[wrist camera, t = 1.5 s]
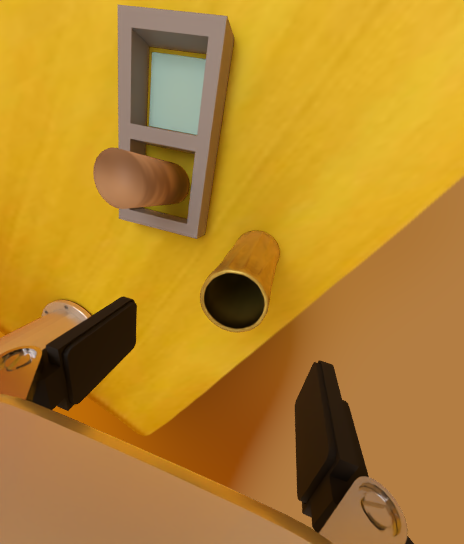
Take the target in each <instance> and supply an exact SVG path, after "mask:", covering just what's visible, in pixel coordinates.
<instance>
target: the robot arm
mask: <svg viewBox="0 0 464 544" xmlns="http://www.w3.org/2000/svg"><path fill="white" fill-rule="evenodd" d="M136 311H137V305H136V303H135V301H134V300H133V299H130V298H126V297H121V298H119V299H117V300H116V301H114V302H113V303H111V304H110V305H108V306H106V307H105V308H103V309H102V310H100V311H99V312H97V313H95V314H94V315H92V316H91V315H90V314H89V313H88V312H87V311H86V310H85V309H83V308H82V307H81V306H79V305H77V304H76V303H73V302H71V301H67V300H57V301H54V302H52V303H50V304H48V305H47V306H46V307H45V308H44V310H43V313H42V317H41V318H39V319H37V320H35V321H33V322H31V323H29V324H27V325H25V326H23V327H21V328H19V329H17V330H15V331H13V332H11V333H9V334H7V335H5V336H3V337H2V338H0V544H414V543H413V542H412V541H411V540H410V538H409V537H408V536H407V534H408V529H407V523H406V519H405V517H404V515H403V512H402V510H401V508H400V506H399V505H398V503H397V501H396V500H395V498H394V497H393V496H392V495H391V494H390V493H389V491H388V490H387V489H386V488H384V487H383V486H382V485H381V484H380V483H379V482H377V481H376V480H374V479H372V478H369V476H368V473H367V469H366V466H365V462H364V458H363V455H362V451H361V448H360V444H359V441H358V437H357V434H356V430H355V426H354V423H353V419H352V415H351V412H350V408H349V406H348V403H347V402H346V401H344V400H342V398H341V394H340V390H339V386H338V383H337V378H336V374H335V370H334V367H333V365H332V364H329V363H326V362H323V361H318V363H316V362H314V364H313V365H312V367H311V370H310V372H309V374H308V376H307V378H306V380H305V383H304V385H303V387H302V389H301V391H300V393H299V395H298V398H297V400H296V404H295V428H296V429H295V432H296V466H297V496H298V499H299V500H300V501H302V513H303V514H305V515H307V516H310V517H312V527H313V528H314V530H315V531H314V530H313V529H311V528H310V527H308V526H306V525H304V524H303V523H301V522H299V521H297V520H295V519H293V518H291V517H290V516H288V515H286V514H283V513H282V512H279V511H277V510H275V509H273V508H271V507H269V506H267V505H264V504H263V503H260V502H258V501H256V500H254V499H251V498H250V497H248V496H246V495H243V494H241V493H239V492H237V491H235V490H232V489H230V488H228V487H226V486H223V485H221V484H219V483H217V482H215V481H212V480H210V479H208V478H205V477H203V476H201V475H199V474H197V473H194V472H192V471H190V470H188V469H185V468H183V467H181V466H179V465H177V464H174V463H172V462H170V461H168V460H165V459H163V458H161V457H158V456H156V455H154V454H152V453H149V452H147V451H145V450H143V449H140V448H138V447H136V446H133V445H131V444H129V443H127V442H124V441H122V440H120V439H117V438H115V437H113V436H111V435H108V434H106V433H104V432H101V431H99V430H97V429H95V428H92V427H90V426H88V425H85V424H83V423H81V422H79V421H76V420H74V419H72V418H69V417H67V416H65V415H62V414H60V413H57V412H55V411H52V409H54V408H55V407H56V406H58V407H60V408H62V409H65V410H67V411H68V410H69V409H70V408H71V407H72V406H73V405H74V404H78V403H80V402H81V401H82V400H83V399H84V398H85V397H86V396H87V395H88V394H89V393H90V392H91V391H92V390H93V389H94V388H95V387H96V386H97V385H98V384H99V383H100V382H101V381H102V380H103V379H104V378H105V377H106V376H107V375H108V374H109V373H110V372H111V371H112V370H113V369H114V368H115V367H116V365H117V364H118V363H119V362H120V361H121V360H122V359H123V358H124V357H125V356H126V355H127V354H128V353H129V352H130V351H131V350H132V349H133V348H134V346H135V344H136Z"/></svg>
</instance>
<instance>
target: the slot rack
mask: <svg viewBox="0 0 464 544" xmlns="http://www.w3.org/2000/svg"><path fill="white" fill-rule="evenodd" d="M233 44H234V36H233V33H232V30H231V27H230V23H229V20H228V17H227V16H221V15H212V14H202V13H192V12H182V11H173V10H163V9H153V8H144V7H134V6H124V5H118V116H119V149H122V150H126V151H130V152H134V153H137V154H141V155H145V151H146V144H148V145H153V146H158V147H163V148H168V149H173V150H178V151H183V152H188V153H193V154H195V159H194V167H193V176H192V185H191V193H190V202H189V211H188V219H185V218H181V217H177V216H173V215H169V214H165V213H161V212H157V211H153V210H149V209H145V208H143V207H138V208H128V209H120V208H119V219H123V220H127V221H130V222H134V223H138V224H142V225H146V226H150V227H153V228H157V229H161V230H165V231H169V232H173V233H177V234H180V235H184V236H188V237H192V238H196V239H197V238H199V237H201V236H203V235H205V230H206V224H207V217H208V210H209V204H210V197H211V190H212V184H213V177H214V170H215V164H216V157H217V151H218V144H219V137H220V131H221V124H222V117H223V111H224V104H225V97H226V91H227V84H228V77H229V71H230V64H231V57H232V51H233ZM149 47H156V48H164V49H171V50H179V51H187V52H194V53H202V54H207V55H206V59H201V58H194V57H186V56H179V55H171V54H164V53H156V52H152V67H151V92H150V117H149V126H150V127H147V126H146V123H147V96H148V68H149ZM153 127H156V128H153ZM158 128H161V129H158ZM163 129H166V130H163ZM169 130H172V131H169ZM174 131H177V132H174ZM179 132H182V133H179ZM185 133H188V134H185ZM190 134H193V135H190ZM195 135H197V136H195Z"/></svg>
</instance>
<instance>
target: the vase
mask: <svg viewBox="0 0 464 544" xmlns="http://www.w3.org/2000/svg"><path fill="white" fill-rule="evenodd" d="M279 255H280V251H279V247H278V244H277V242H276V241H275V239H274V238H273V237H272V236H270V235H269V234H267V233H265V232H263V231H250V232H247V233H245V234H243V235H242V236H241V237H240V238H239V239H238V240H237V242H236V244H235V245H234V247H233V248H232V249H231V250H230V251H229V253H228V254H227V255H226V257H225V258H224V260H223V262H222V263H221V264H220V265H219V266H218V267H217V268H216V269H215V270H214V271H213V272H212V273H211V274H210V275H209V276H208V278H207V279H206V281H205V283H204V284H203V286H202V289H201V293H200V302H201V307H202V309H203V311H204V313H205V314H206V316H207V317H208V318H209V320H210V321H211V322H213V323H214V324H215V325H217V326H218V327H220V328H222V329H224V330H227V331H231V332H244V331H249V330H252V329H253V328H255V327H257V326H258V325H259V324H260V323H261V321H262V320H263V318H264V317H265V315H266V314H267V311H268V305H269V300H270V294H271V286H272V283H273V279H274V274H275V268H276V264H277V262H278V260H279Z"/></svg>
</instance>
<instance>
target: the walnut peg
mask: <svg viewBox="0 0 464 544" xmlns="http://www.w3.org/2000/svg"><path fill="white" fill-rule="evenodd" d="M94 180H95V184H96V187H97V189H98V191H99V193H100V195H101V196H102V197H103V199H104V200H105V201H106V202H107V203H109V204H110V205H112V206H114V207H116V208H120V209H128V208H138V207H148V206H158V205H168V204H177V203H180V202H182V201H183V200H184V199H185V198H186V197H187V195H188V192H189V188H190V183H189V178H188V175H187V173H186V172H185V170H184V169H183V168H182V167H181V166H179V165H177V164H175V163H171V162H168V161H164V160H160V159H156V158H153V157H149V156H145V155H141V154H137V153H134V152H130V151H126V150H122V149H119V148H108V149H106V150H104V151H102V152H101V153H100V154H99V156H98V157H97V159H96V161H95V165H94Z"/></svg>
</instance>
